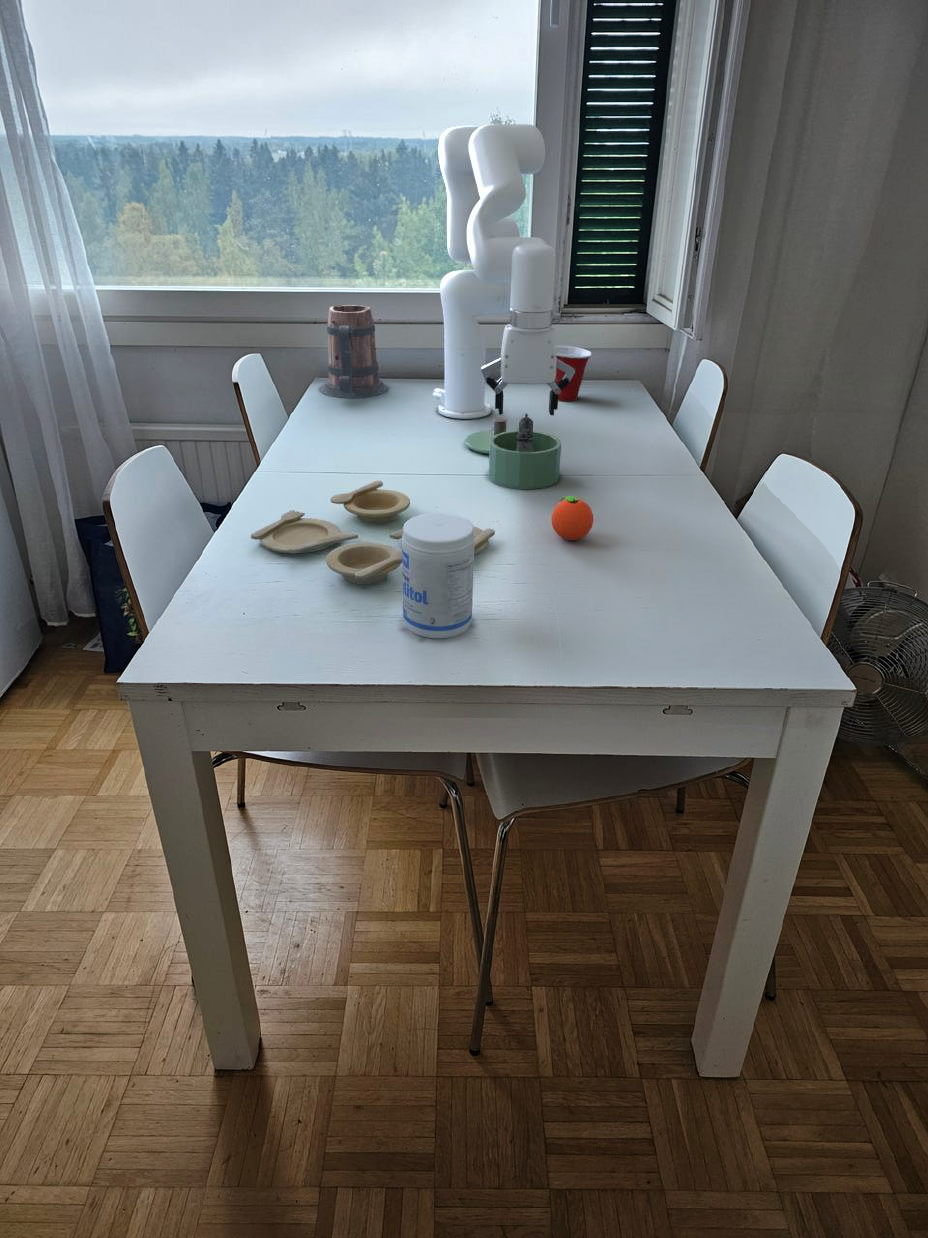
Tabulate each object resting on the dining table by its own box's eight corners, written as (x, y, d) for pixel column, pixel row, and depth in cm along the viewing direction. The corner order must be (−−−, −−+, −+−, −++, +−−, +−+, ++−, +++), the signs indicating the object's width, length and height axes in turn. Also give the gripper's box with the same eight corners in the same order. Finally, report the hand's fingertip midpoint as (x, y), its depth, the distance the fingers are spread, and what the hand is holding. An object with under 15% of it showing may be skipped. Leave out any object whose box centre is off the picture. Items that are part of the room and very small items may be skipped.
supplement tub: (389, 625, 120) (385, 527, 112) (434, 600, 126) (434, 505, 119) (441, 649, 114) (441, 548, 107) (486, 622, 121) (489, 524, 113)
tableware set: (512, 547, 142) (513, 524, 140) (379, 611, 123) (378, 586, 121) (369, 491, 162) (368, 471, 160) (236, 538, 144) (233, 516, 142)
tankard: (327, 379, 232) (321, 300, 222) (390, 380, 231) (387, 301, 221) (310, 404, 211) (303, 319, 201) (379, 405, 211) (376, 320, 201)
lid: (465, 456, 180) (465, 430, 177) (464, 434, 192) (465, 409, 189) (536, 457, 180) (537, 430, 177) (530, 435, 192) (532, 409, 190)
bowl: (490, 489, 164) (491, 453, 161) (487, 464, 176) (488, 430, 172) (561, 489, 164) (564, 453, 161) (554, 464, 176) (557, 430, 173)
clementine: (539, 531, 148) (542, 491, 144) (575, 525, 150) (578, 486, 146) (562, 550, 141) (565, 509, 138) (599, 543, 144) (603, 503, 140)
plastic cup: (590, 404, 214) (594, 354, 208) (546, 403, 214) (549, 354, 208) (585, 392, 223) (589, 344, 217) (543, 391, 223) (546, 343, 217)
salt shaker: (539, 468, 172) (542, 409, 166) (538, 479, 167) (541, 418, 161) (509, 467, 173) (511, 408, 167) (507, 478, 168) (510, 417, 162)
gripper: (576, 315, 159) (569, 407, 168) (481, 314, 159) (479, 406, 167) (581, 324, 152) (573, 419, 161) (482, 323, 152) (480, 418, 161)
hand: (525, 412), depth 164 cm, fingers open, 9 cm apart
